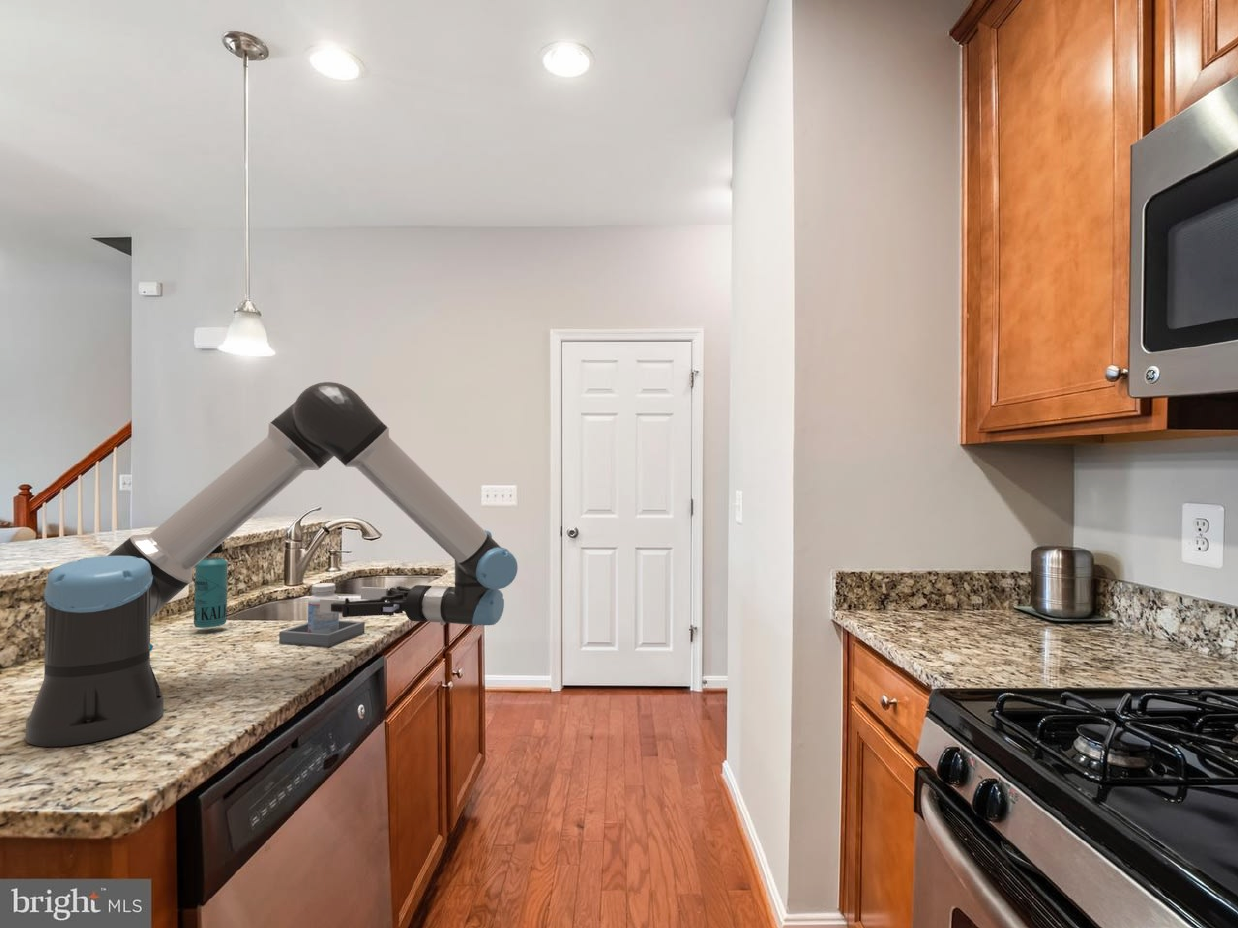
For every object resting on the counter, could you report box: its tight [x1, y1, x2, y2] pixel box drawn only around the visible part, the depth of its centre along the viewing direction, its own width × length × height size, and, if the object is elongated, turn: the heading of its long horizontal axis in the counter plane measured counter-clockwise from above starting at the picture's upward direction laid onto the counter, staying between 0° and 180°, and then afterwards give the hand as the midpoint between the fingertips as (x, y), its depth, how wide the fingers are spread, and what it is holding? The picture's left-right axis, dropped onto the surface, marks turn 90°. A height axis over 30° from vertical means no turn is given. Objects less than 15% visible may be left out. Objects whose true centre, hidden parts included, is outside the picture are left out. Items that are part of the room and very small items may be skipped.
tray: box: [278, 619, 366, 649], centre depth 136 cm, size 12×12×2 cm
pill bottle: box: [307, 582, 340, 634], centre depth 136 cm, size 6×6×11 cm
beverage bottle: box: [192, 543, 229, 629], centre depth 142 cm, size 6×7×20 cm
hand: (342, 598), depth 136 cm, fingers open, 13 cm apart
